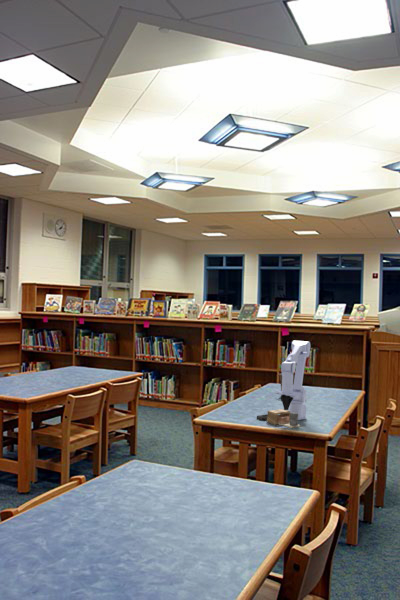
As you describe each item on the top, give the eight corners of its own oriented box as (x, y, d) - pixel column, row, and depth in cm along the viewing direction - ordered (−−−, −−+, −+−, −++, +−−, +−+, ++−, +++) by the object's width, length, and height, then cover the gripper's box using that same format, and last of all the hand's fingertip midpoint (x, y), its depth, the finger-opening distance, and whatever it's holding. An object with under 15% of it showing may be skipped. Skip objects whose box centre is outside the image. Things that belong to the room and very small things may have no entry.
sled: (275, 419, 286) (275, 407, 286) (300, 426, 273) (300, 413, 273) (266, 421, 282) (267, 408, 282) (291, 427, 268) (291, 414, 268)
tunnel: (281, 420, 286) (281, 409, 286) (289, 422, 281) (290, 411, 281) (267, 422, 278) (267, 410, 278) (275, 424, 274) (276, 413, 274)
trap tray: (267, 417, 292) (268, 414, 292) (274, 419, 288) (274, 415, 288) (256, 418, 286) (256, 415, 286) (263, 420, 282) (263, 417, 282)
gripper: (272, 382, 279) (270, 407, 279) (292, 386, 268) (291, 412, 268) (280, 382, 284) (279, 406, 283) (301, 385, 272) (300, 411, 272)
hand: (286, 409), depth 276 cm, fingers closed
